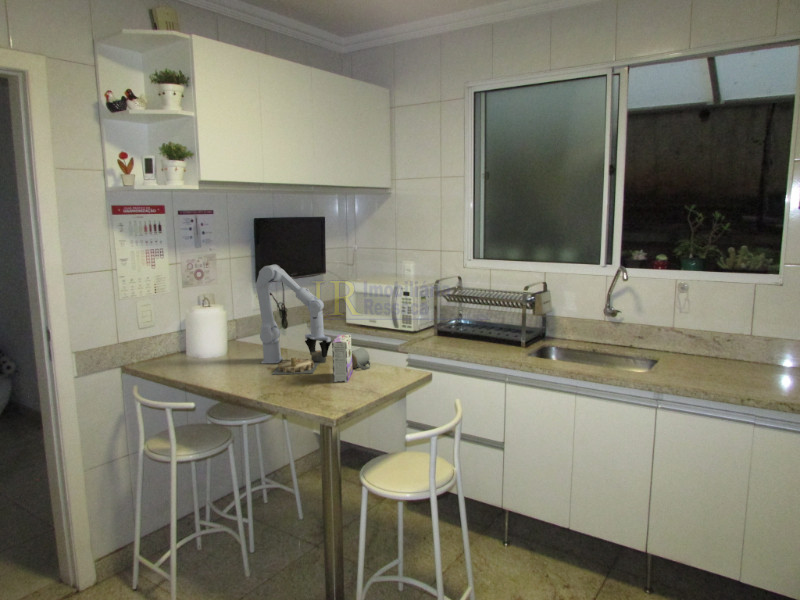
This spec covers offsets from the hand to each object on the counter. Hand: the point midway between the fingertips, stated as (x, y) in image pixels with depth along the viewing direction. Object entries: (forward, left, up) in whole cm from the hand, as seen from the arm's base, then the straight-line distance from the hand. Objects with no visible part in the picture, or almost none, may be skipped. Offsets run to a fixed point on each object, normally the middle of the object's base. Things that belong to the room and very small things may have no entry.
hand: (318, 355), depth 247 cm
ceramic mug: (+11, +19, -3) cm, 22 cm away
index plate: (+11, -8, -3) cm, 14 cm away
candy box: (+26, +14, -3) cm, 30 cm away
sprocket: (+11, -8, -3) cm, 14 cm away
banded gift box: (0, 0, -3) cm, 3 cm away
